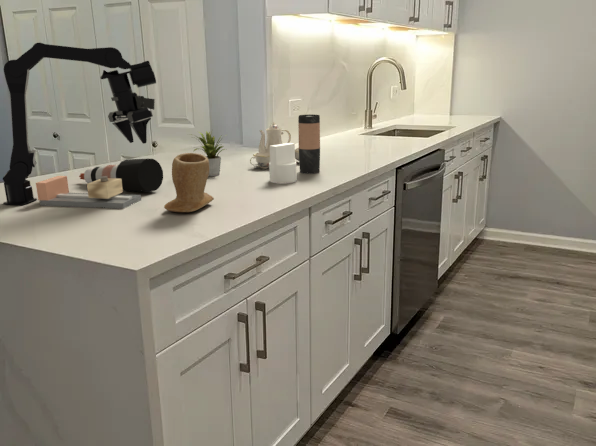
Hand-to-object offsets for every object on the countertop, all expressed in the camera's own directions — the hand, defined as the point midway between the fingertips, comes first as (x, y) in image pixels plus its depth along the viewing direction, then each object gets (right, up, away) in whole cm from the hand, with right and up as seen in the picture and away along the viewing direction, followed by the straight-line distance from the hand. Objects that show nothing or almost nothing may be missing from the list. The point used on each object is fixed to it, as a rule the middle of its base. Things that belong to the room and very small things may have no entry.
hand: (138, 142), depth 165 cm
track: (-11, -18, -9) cm, 23 cm away
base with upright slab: (+44, -10, +16) cm, 48 cm away
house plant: (+17, -7, +29) cm, 34 cm away
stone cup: (+20, -21, -17) cm, 34 cm away
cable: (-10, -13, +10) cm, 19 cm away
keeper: (-6, -16, -11) cm, 20 cm away
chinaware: (+41, -2, +47) cm, 63 cm away
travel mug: (+53, -6, +30) cm, 61 cm away
